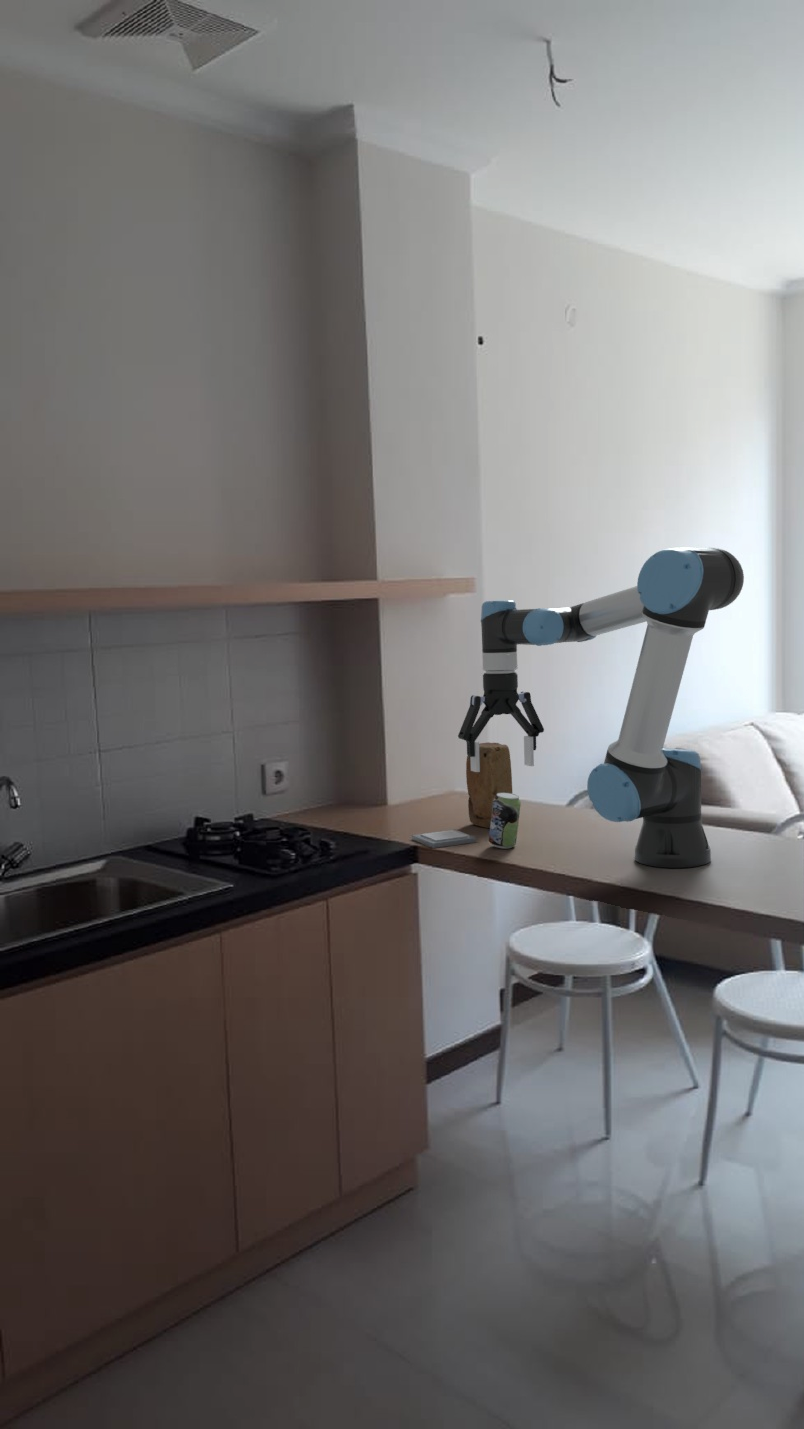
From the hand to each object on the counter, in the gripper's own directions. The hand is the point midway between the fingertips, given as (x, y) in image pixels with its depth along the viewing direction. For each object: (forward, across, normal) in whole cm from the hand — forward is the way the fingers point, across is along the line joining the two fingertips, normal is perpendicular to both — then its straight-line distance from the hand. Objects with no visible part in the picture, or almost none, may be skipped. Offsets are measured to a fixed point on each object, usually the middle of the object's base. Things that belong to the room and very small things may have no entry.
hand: (502, 768), depth 248 cm
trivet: (+18, +8, -14) cm, 24 cm away
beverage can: (+18, 0, 0) cm, 18 cm away
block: (+18, -9, -23) cm, 30 cm away
